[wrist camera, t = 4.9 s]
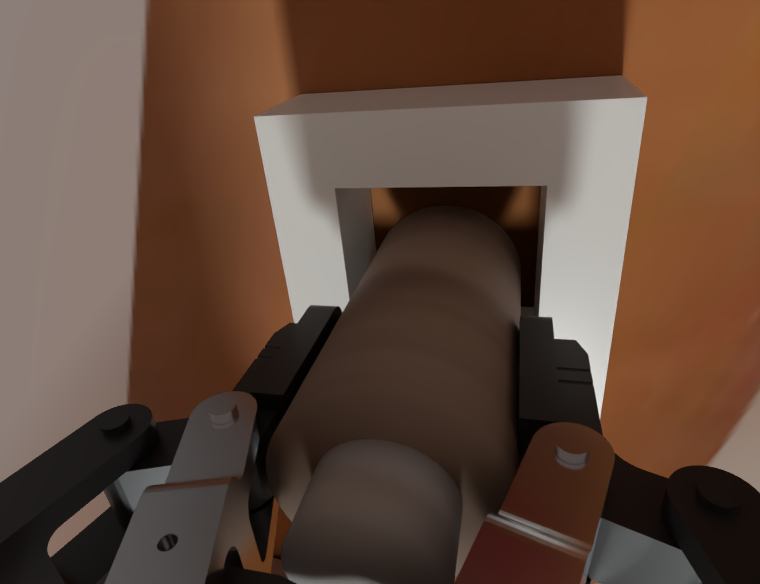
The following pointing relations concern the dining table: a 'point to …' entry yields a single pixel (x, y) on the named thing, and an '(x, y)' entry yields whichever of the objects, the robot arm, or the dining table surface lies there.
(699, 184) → the dining table surface
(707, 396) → the dining table surface
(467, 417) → the pepper mill
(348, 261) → the holder
